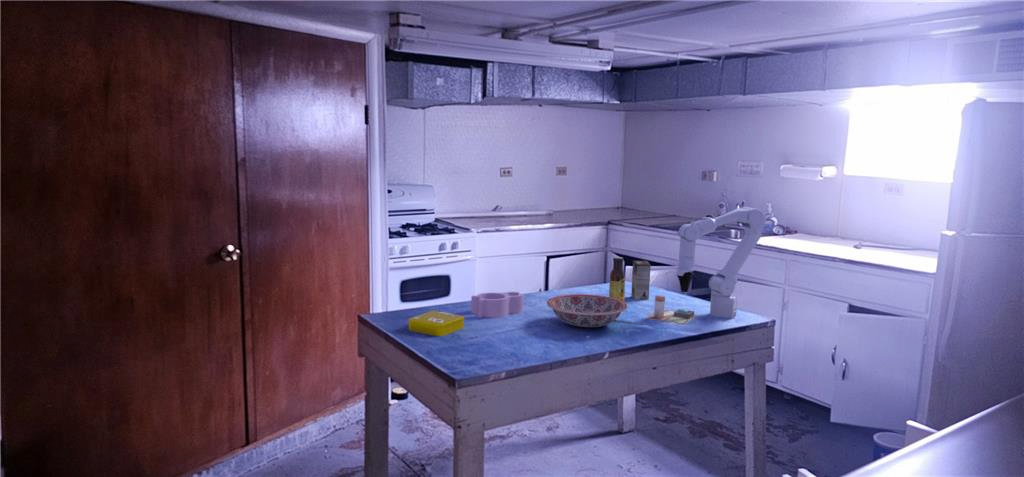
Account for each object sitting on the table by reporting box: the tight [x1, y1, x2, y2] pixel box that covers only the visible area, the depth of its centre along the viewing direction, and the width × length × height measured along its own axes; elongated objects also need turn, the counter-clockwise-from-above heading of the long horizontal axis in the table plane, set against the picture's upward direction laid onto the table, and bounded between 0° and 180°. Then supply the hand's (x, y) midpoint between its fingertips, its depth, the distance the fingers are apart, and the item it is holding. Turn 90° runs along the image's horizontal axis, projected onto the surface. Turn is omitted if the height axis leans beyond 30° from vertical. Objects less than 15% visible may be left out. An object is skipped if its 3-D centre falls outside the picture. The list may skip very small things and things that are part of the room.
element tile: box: [408, 310, 465, 337], centre depth 233 cm, size 15×15×5 cm
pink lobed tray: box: [470, 291, 525, 319], centre depth 255 cm, size 20×12×7 cm, turn 118°
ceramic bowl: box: [546, 293, 628, 328], centre depth 240 cm, size 29×29×8 cm
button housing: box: [674, 308, 695, 319], centre depth 251 cm, size 6×6×2 cm
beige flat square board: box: [645, 309, 698, 326], centre depth 250 cm, size 15×16×1 cm
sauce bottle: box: [608, 256, 626, 302], centre depth 268 cm, size 7×6×20 cm
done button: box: [679, 308, 689, 314], centre depth 251 cm, size 3×3×2 cm
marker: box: [653, 294, 666, 318], centre depth 248 cm, size 4×4×8 cm
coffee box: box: [630, 260, 652, 301], centre depth 280 cm, size 9×6×16 cm
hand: (684, 291), depth 250 cm, fingers closed
